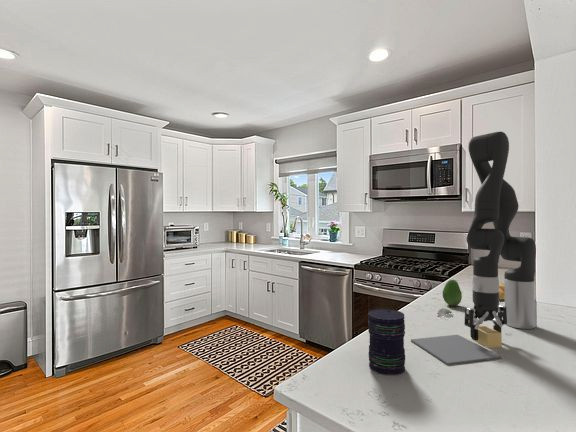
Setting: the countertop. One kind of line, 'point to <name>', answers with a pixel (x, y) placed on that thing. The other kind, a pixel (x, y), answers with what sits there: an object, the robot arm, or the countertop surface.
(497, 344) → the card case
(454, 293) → the avocado
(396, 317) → the storage jar
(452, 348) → the mat
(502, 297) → the croissant
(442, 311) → the grey-green jagged piece
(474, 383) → the countertop surface
